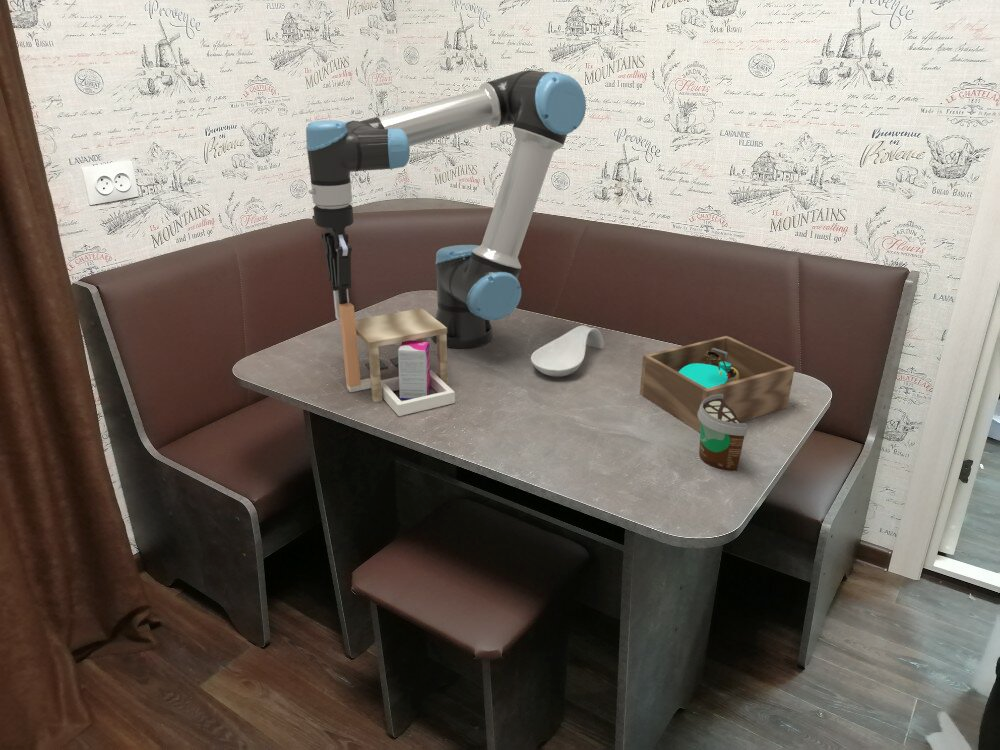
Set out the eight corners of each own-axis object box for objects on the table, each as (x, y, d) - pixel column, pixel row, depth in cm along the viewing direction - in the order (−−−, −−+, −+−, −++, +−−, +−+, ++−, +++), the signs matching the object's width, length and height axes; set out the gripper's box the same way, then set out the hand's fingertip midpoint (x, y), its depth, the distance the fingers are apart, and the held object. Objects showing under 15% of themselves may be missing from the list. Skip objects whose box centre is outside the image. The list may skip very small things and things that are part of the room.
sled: (422, 371, 167) (418, 291, 159) (455, 402, 154) (452, 316, 146) (346, 388, 160) (338, 304, 152) (373, 422, 146) (366, 332, 138)
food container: (683, 441, 140) (689, 393, 136) (715, 440, 140) (722, 392, 136) (705, 477, 129) (712, 426, 125) (739, 475, 129) (748, 425, 125)
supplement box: (427, 401, 154) (425, 351, 150) (399, 400, 155) (395, 350, 150) (431, 389, 160) (429, 339, 155) (404, 388, 160) (401, 339, 155)
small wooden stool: (424, 363, 172) (421, 308, 166) (448, 385, 161) (447, 327, 155) (353, 377, 165) (348, 320, 159) (374, 402, 154) (369, 342, 148)
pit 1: (381, 362, 173) (381, 360, 172) (387, 368, 169) (387, 366, 169) (365, 365, 171) (365, 363, 171) (370, 371, 168) (370, 370, 167)
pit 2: (405, 357, 175) (405, 355, 175) (412, 363, 172) (412, 361, 172) (389, 360, 173) (389, 358, 173) (396, 366, 170) (395, 365, 170)
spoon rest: (565, 388, 161) (567, 357, 158) (520, 374, 167) (520, 345, 164) (616, 352, 178) (618, 324, 175) (573, 341, 185) (575, 314, 182)
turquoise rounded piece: (765, 401, 155) (776, 334, 149) (717, 430, 144) (728, 359, 138) (706, 380, 165) (715, 315, 158) (657, 405, 153) (665, 337, 147)
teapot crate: (721, 372, 167) (726, 335, 164) (787, 407, 152) (794, 367, 148) (639, 394, 158) (643, 355, 154) (701, 433, 142) (706, 391, 139)
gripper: (305, 199, 149) (317, 310, 159) (322, 213, 138) (334, 331, 149) (341, 196, 152) (351, 305, 162) (361, 209, 142) (370, 324, 152)
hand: (343, 317), depth 155 cm, fingers closed
